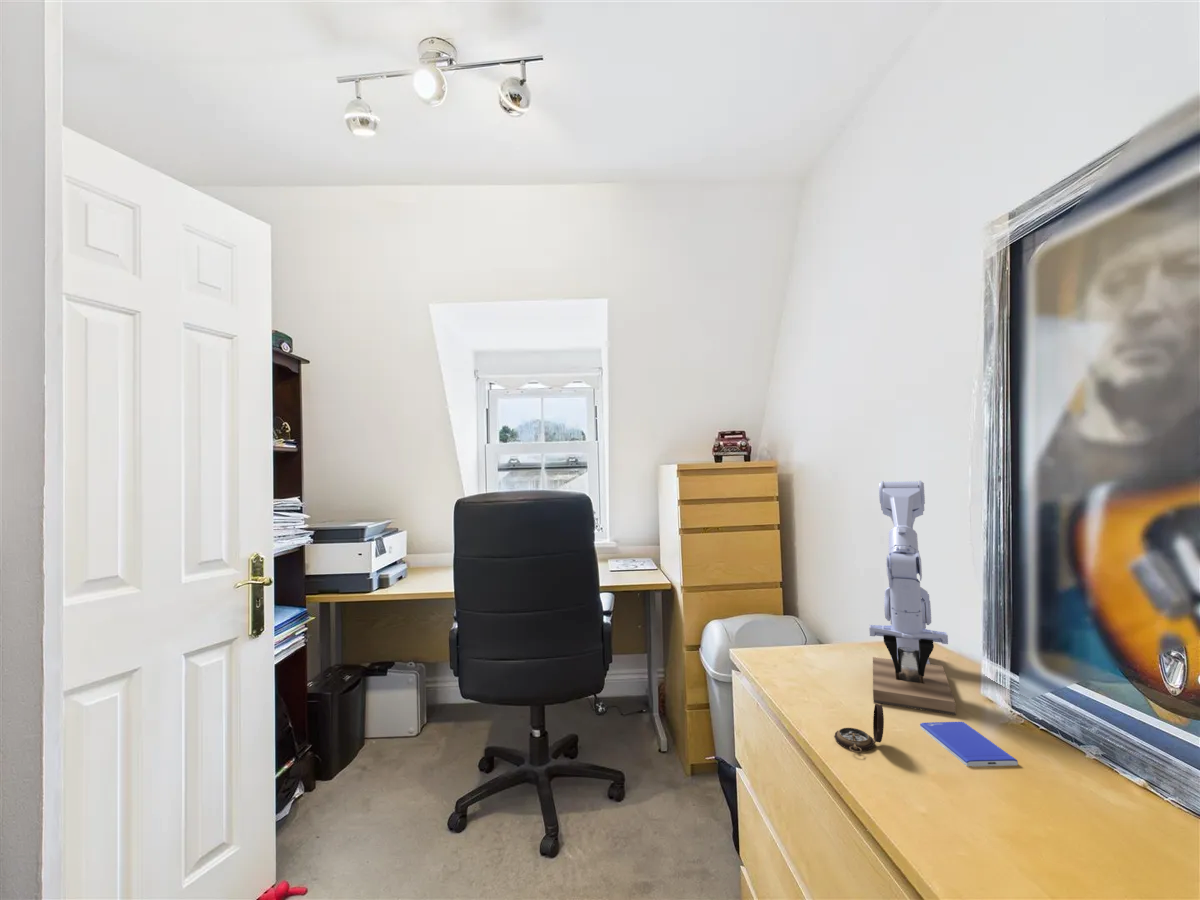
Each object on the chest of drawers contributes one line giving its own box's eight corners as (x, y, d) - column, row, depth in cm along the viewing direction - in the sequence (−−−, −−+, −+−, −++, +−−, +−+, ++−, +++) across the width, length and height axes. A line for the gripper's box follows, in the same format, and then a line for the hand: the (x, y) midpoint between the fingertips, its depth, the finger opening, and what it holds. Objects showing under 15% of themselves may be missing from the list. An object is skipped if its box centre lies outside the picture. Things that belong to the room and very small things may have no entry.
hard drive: (919, 722, 96) (966, 760, 83) (964, 721, 96) (1017, 758, 83) (920, 731, 96) (967, 770, 83) (964, 729, 96) (1018, 768, 83)
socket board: (873, 667, 124) (872, 657, 124) (943, 676, 118) (942, 665, 118) (873, 702, 107) (873, 689, 107) (955, 715, 100) (955, 701, 100)
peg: (898, 677, 115) (896, 645, 115) (919, 680, 113) (918, 648, 113) (899, 684, 111) (898, 651, 112) (921, 687, 110) (920, 654, 110)
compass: (833, 731, 96) (831, 691, 96) (882, 738, 93) (880, 697, 93) (835, 754, 88) (833, 710, 88) (888, 762, 85) (886, 717, 85)
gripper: (868, 610, 113) (871, 674, 112) (948, 617, 106) (952, 685, 105) (868, 602, 119) (871, 663, 118) (944, 608, 112) (947, 672, 112)
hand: (909, 672), depth 112 cm, fingers closed on peg, 4 cm apart
